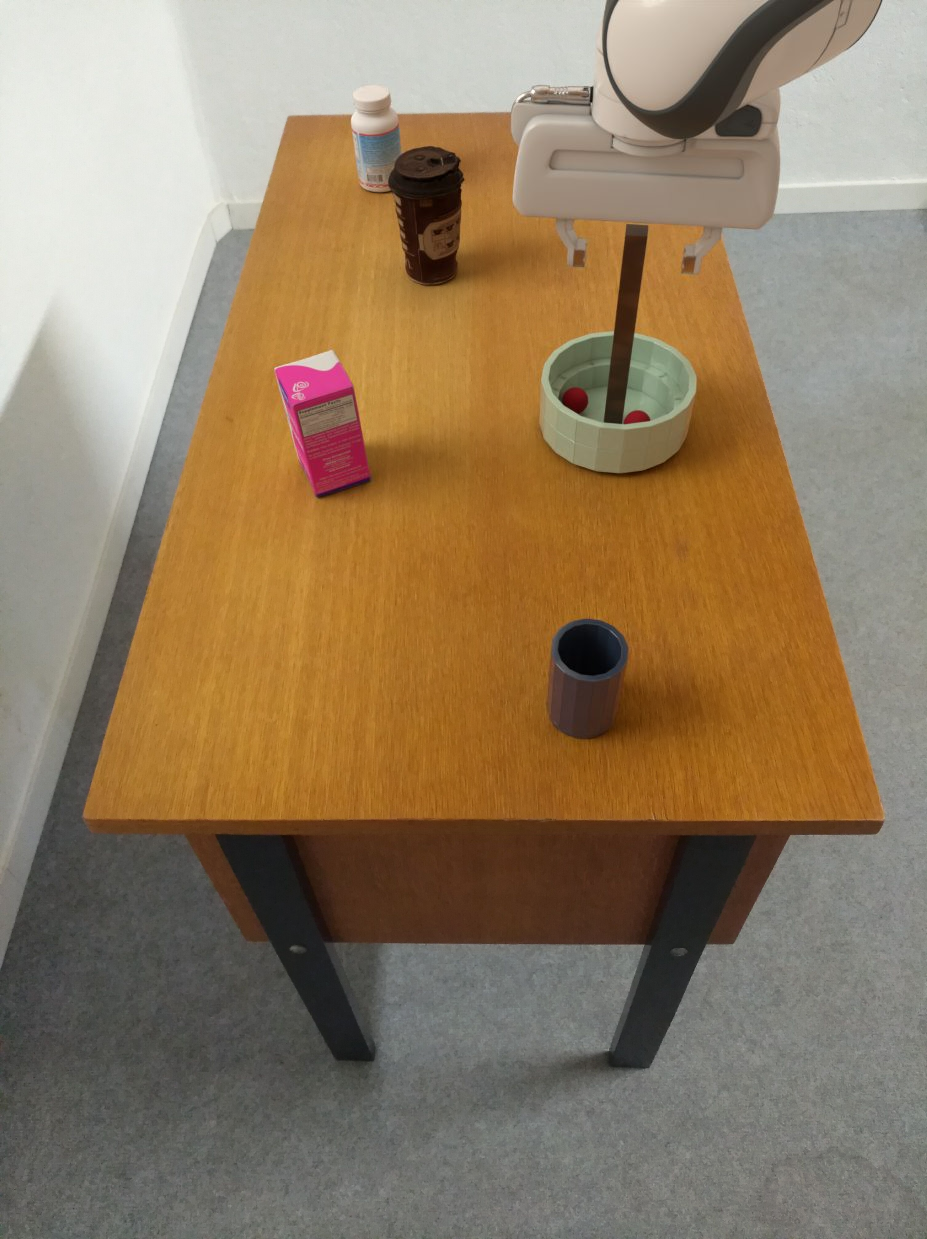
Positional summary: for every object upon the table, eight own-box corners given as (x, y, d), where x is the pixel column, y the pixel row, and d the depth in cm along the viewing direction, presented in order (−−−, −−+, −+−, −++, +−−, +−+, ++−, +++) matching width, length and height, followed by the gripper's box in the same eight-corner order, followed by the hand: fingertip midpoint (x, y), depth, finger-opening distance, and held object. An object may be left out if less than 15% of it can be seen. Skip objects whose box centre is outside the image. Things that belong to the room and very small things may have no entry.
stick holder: (619, 683, 71) (630, 623, 64) (614, 743, 67) (625, 685, 61) (551, 675, 71) (555, 614, 65) (543, 733, 68) (547, 675, 62)
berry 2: (648, 441, 87) (658, 416, 86) (639, 442, 85) (650, 416, 84) (624, 431, 88) (635, 406, 87) (615, 431, 86) (626, 406, 85)
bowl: (687, 386, 92) (697, 337, 87) (684, 484, 84) (695, 435, 79) (548, 375, 94) (551, 326, 89) (531, 470, 85) (533, 421, 81)
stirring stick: (622, 417, 89) (648, 224, 73) (621, 429, 88) (647, 236, 72) (604, 415, 89) (626, 223, 73) (602, 427, 88) (625, 235, 72)
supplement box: (296, 462, 87) (272, 365, 78) (353, 444, 88) (336, 346, 79) (314, 500, 84) (291, 403, 75) (373, 481, 85) (357, 384, 76)
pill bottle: (413, 179, 120) (406, 89, 111) (383, 198, 117) (373, 108, 108) (379, 167, 122) (369, 77, 113) (349, 185, 119) (337, 96, 111)
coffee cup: (483, 264, 107) (480, 153, 97) (445, 299, 103) (438, 187, 93) (422, 245, 110) (414, 135, 100) (383, 278, 106) (370, 168, 96)
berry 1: (552, 405, 89) (570, 411, 91) (568, 414, 87) (586, 420, 89) (563, 380, 88) (581, 387, 90) (580, 389, 86) (597, 396, 88)
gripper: (504, 103, 63) (504, 280, 74) (802, 115, 61) (756, 296, 72) (516, 66, 67) (514, 239, 78) (798, 75, 64) (755, 253, 75)
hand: (632, 267), depth 75 cm, fingers open, 8 cm apart
